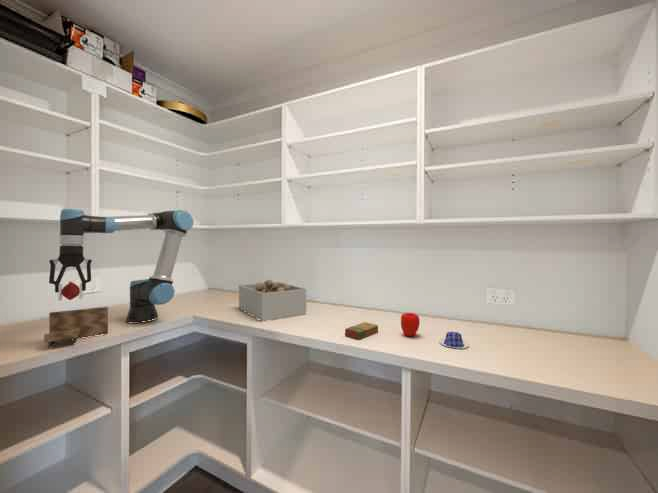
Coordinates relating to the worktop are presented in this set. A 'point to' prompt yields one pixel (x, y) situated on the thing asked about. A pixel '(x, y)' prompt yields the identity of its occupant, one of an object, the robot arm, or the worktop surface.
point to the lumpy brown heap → (269, 285)
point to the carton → (361, 331)
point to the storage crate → (272, 302)
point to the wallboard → (80, 321)
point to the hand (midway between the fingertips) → (70, 299)
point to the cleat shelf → (61, 336)
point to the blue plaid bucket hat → (453, 340)
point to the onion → (70, 291)
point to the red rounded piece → (409, 323)
